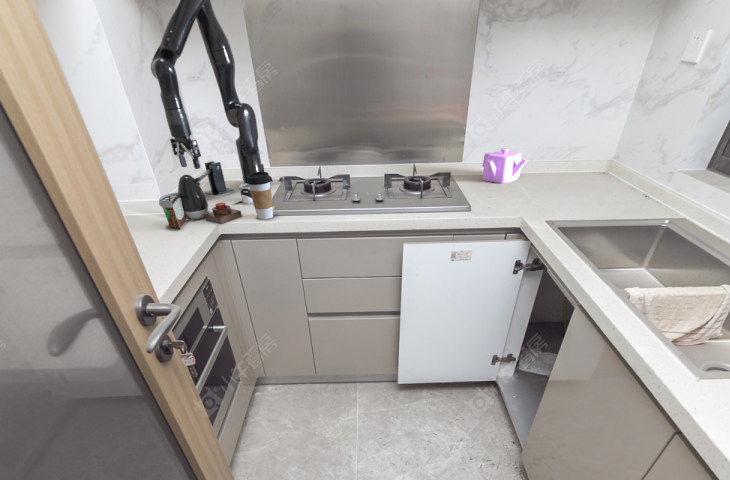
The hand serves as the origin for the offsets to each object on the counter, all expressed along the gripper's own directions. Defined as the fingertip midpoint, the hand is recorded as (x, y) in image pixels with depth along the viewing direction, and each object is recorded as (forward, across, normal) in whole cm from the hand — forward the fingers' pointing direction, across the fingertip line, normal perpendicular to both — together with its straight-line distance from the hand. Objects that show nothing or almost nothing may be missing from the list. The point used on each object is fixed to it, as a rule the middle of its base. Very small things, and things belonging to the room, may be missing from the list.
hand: (191, 167), depth 173 cm
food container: (+13, -19, +26) cm, 35 cm away
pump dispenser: (+13, -18, +16) cm, 28 cm away
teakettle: (+15, -102, -86) cm, 134 cm away
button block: (+13, -29, +12) cm, 34 cm away
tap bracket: (+13, 0, -11) cm, 17 cm away
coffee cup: (+13, -42, +3) cm, 44 cm away
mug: (+13, -24, -9) cm, 29 cm away
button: (+9, -29, +12) cm, 33 cm away
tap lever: (+5, 0, -6) cm, 8 cm away
